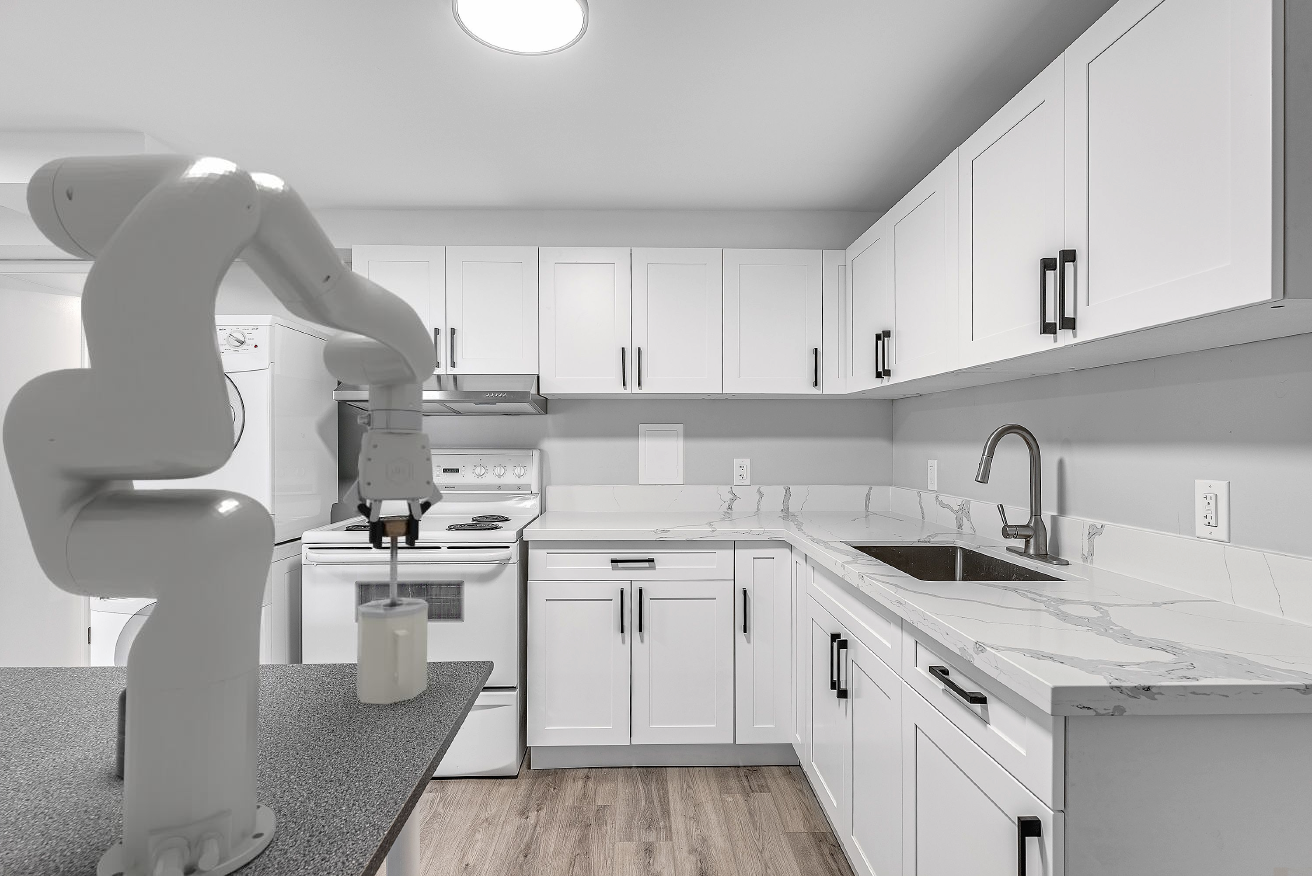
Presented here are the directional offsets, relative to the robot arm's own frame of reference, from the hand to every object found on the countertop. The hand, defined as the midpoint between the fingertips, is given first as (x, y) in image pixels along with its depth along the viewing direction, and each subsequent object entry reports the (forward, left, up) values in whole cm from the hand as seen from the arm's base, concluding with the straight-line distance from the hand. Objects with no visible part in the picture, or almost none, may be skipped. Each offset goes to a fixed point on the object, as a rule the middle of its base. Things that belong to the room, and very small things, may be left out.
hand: (394, 545), depth 95 cm
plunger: (0, 0, -13) cm, 13 cm away
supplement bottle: (-9, +27, -22) cm, 36 cm away
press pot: (-1, 0, -22) cm, 22 cm away
